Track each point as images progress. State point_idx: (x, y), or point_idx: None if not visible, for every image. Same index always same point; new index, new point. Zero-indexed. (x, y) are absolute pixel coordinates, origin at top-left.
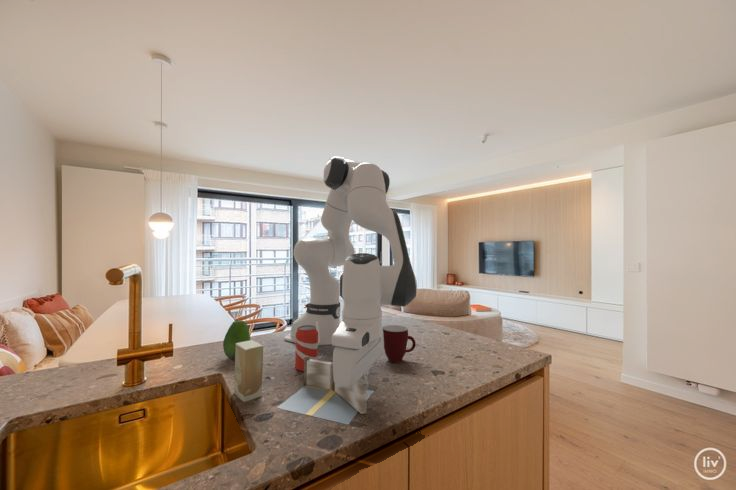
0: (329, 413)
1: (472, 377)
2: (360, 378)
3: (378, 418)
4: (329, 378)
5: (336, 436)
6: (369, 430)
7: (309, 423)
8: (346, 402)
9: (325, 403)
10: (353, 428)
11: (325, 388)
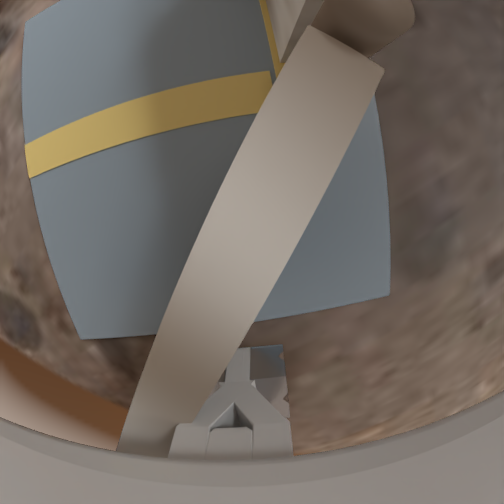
0: (78, 229)
1: None
2: (157, 456)
3: None
4: (288, 30)
5: (34, 324)
6: (120, 395)
7: (14, 198)
8: None
9: (132, 143)
10: (90, 352)
11: None
